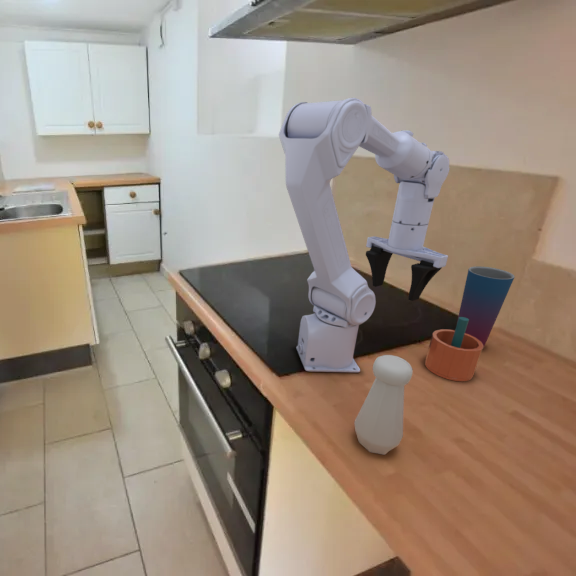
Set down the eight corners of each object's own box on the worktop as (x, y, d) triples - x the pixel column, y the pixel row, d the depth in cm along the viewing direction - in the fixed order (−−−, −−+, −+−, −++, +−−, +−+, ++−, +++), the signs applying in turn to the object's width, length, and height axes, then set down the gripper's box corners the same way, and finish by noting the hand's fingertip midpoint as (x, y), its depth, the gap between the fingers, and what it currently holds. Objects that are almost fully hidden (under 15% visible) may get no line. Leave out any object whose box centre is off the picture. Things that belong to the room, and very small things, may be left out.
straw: (450, 369, 66) (465, 321, 62) (442, 365, 67) (456, 317, 64) (455, 367, 66) (471, 319, 63) (448, 363, 68) (462, 316, 64)
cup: (476, 335, 78) (498, 266, 72) (497, 353, 71) (524, 279, 66) (441, 334, 78) (461, 265, 73) (459, 351, 72) (482, 278, 66)
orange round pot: (438, 380, 64) (448, 350, 61) (417, 357, 70) (424, 328, 68) (482, 381, 64) (493, 351, 61) (456, 358, 70) (465, 329, 68)
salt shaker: (375, 465, 48) (397, 379, 43) (342, 434, 52) (357, 354, 48) (408, 451, 50) (432, 368, 45) (373, 422, 55) (391, 344, 50)
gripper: (466, 227, 63) (445, 301, 68) (388, 212, 75) (376, 276, 80) (440, 232, 60) (421, 309, 65) (364, 216, 72) (352, 282, 77)
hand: (394, 292), depth 73 cm, fingers open, 7 cm apart
